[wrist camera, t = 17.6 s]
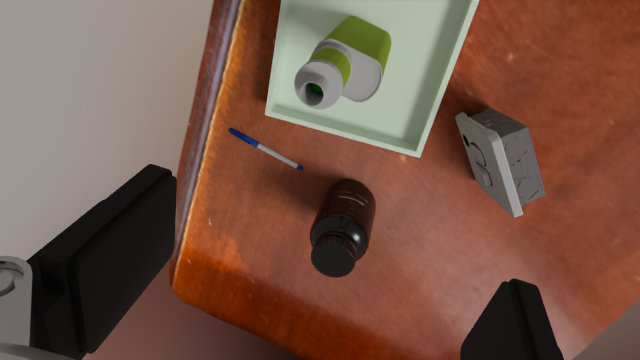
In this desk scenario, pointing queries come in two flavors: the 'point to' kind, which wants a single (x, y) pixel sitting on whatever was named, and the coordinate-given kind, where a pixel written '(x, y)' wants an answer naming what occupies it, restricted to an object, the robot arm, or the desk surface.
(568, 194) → the desk surface
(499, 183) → the electrical switch
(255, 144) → the ballpoint pen
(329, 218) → the supplement bottle
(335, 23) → the parts tray
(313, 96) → the vape
